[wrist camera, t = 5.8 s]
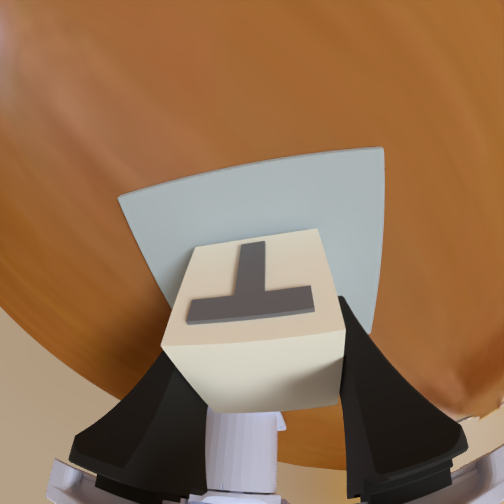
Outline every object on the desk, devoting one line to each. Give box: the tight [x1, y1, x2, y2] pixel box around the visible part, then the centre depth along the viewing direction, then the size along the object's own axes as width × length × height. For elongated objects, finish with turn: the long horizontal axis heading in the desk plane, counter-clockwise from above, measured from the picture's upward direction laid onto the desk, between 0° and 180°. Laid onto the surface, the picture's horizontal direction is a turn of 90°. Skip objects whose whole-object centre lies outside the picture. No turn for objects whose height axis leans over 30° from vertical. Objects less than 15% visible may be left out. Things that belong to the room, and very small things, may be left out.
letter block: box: [161, 228, 346, 413], centre depth 10 cm, size 5×5×5 cm
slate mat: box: [118, 147, 385, 334], centre depth 13 cm, size 11×11×1 cm
